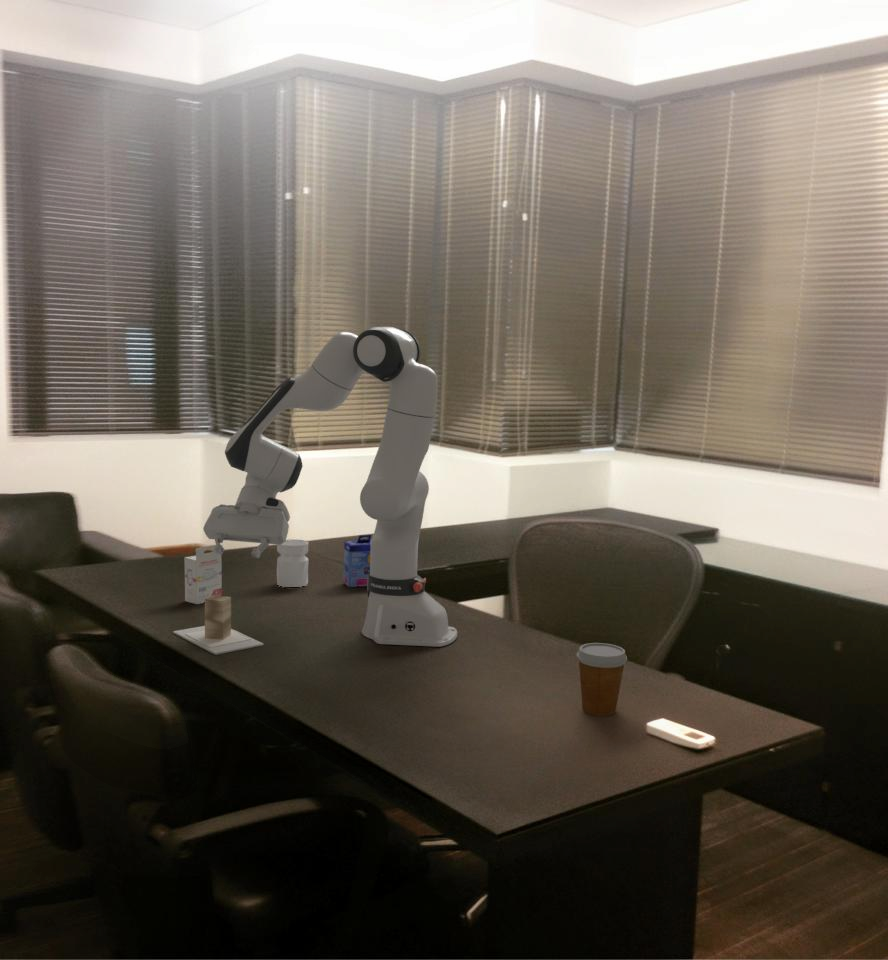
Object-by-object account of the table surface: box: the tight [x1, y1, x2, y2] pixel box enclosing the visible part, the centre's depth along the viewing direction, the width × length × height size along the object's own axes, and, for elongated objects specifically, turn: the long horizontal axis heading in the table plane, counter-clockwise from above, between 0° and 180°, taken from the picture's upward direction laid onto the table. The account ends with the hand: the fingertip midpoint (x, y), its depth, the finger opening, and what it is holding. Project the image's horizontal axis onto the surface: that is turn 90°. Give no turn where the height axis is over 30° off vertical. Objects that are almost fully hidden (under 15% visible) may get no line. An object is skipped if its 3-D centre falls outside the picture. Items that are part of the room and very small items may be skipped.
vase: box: [276, 538, 309, 588], centre depth 284 cm, size 9×9×12 cm
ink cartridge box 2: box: [342, 534, 372, 588], centre depth 287 cm, size 10×6×14 cm, turn 115°
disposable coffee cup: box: [576, 642, 628, 717], centre depth 194 cm, size 10×10×12 cm
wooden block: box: [204, 595, 232, 640], centre depth 232 cm, size 4×4×9 cm
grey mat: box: [172, 625, 264, 656], centre depth 232 cm, size 20×12×1 cm, turn 41°
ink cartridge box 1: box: [183, 544, 223, 605], centre depth 265 cm, size 9×5×15 cm, turn 143°
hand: (236, 554), depth 239 cm, fingers open, 8 cm apart
